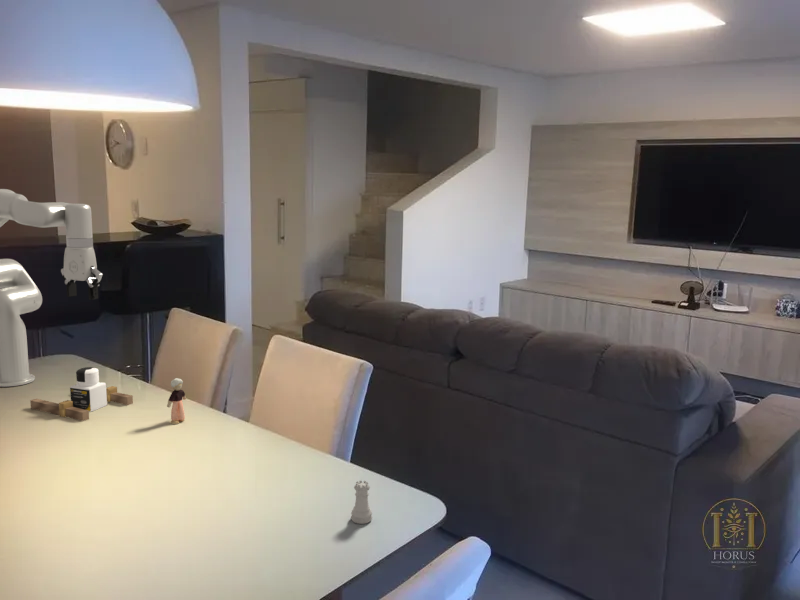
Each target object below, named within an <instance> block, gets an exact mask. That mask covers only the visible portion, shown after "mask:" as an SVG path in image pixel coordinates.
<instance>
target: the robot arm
mask: <svg viewBox="0 0 800 600" xmlns="http://www.w3.org/2000/svg"><path fill="white" fill-rule="evenodd" d="M92 215H93V214H92V208H91V206H90V205H89V204H86V203H70V202H63V201H58V202H57V201H56V202H51V201H49V202H36V201H30V200H28V198H27V197H26V196H25V195H23V194H21V193H17V192H15V191H13V190H11V189H7V188H0V228H1V227H2V226H4V224H5V223H7V222H9V220H10V221H14V222H16V223H17V224H20V225H23V226H29V227H36V228H45V229H46V228H56V227H57V228H58V227H65V237H66V238H65V240H66V247H65V248H64V253H63V254H64V255H63V268H61V269H60V273H61V275H62V279H63V280H64V284H65V285H66V297H68V298H71V297H77V293H78V290H77V282H76V281H78V282H84V281H85V282H87V284H88V288H87V290H88V291H87V292H88V293H87V294H88V300H90V301H92V300H93V301H94V300H98V299H99V287H100V283H101V282H102V277H103V275H104V274H103V272H101V271H100V270H99V269H98V265H97V258H96V252H95V249H94V239H93V237H94V236H93V220H92ZM42 295H43V294H42V293H41V291H40V289H39V288H38V286H37V285H36V283H35V282H34V281H33V278H31V276H30V275H29V273H28V272H27V271H26V269H25V267H23V265H22V264H21V263H19V262H18V261H17V260H15V259H13V258H0V387H3V388H4V387H5V388H6V387H7V388H8V387H17V386H23V385H26V384H30V383H32V382H34V381H35V379H36V376H35V375H34V374H32V373H30V367H29V366H30V365H29V355H28V354H29V353H28V339H27V338H28V337H27V329H26V325H25V322H24V321H23V319H22V318H21V316H20V315H25V314H27V313H33V312H34V311H37V310H39V309H40V308H41V306H42V304H43V296H42Z"/></svg>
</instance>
